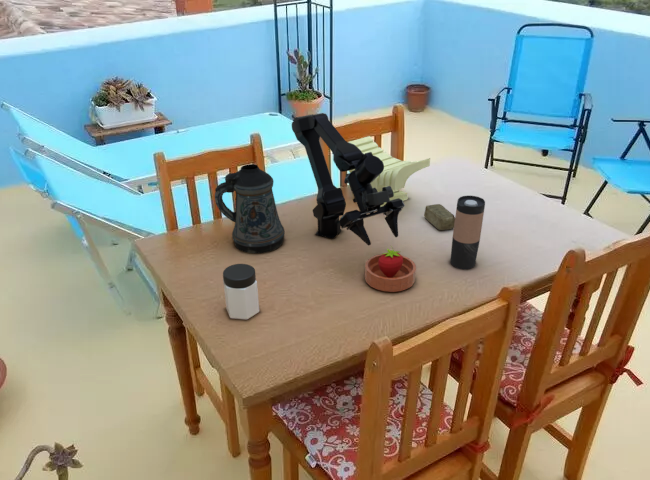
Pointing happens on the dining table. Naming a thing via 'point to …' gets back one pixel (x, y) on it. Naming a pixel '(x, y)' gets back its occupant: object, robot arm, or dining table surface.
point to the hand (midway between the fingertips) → (383, 240)
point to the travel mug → (467, 231)
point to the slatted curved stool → (390, 168)
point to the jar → (241, 291)
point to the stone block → (439, 217)
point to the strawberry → (390, 262)
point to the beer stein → (252, 210)
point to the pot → (397, 283)
